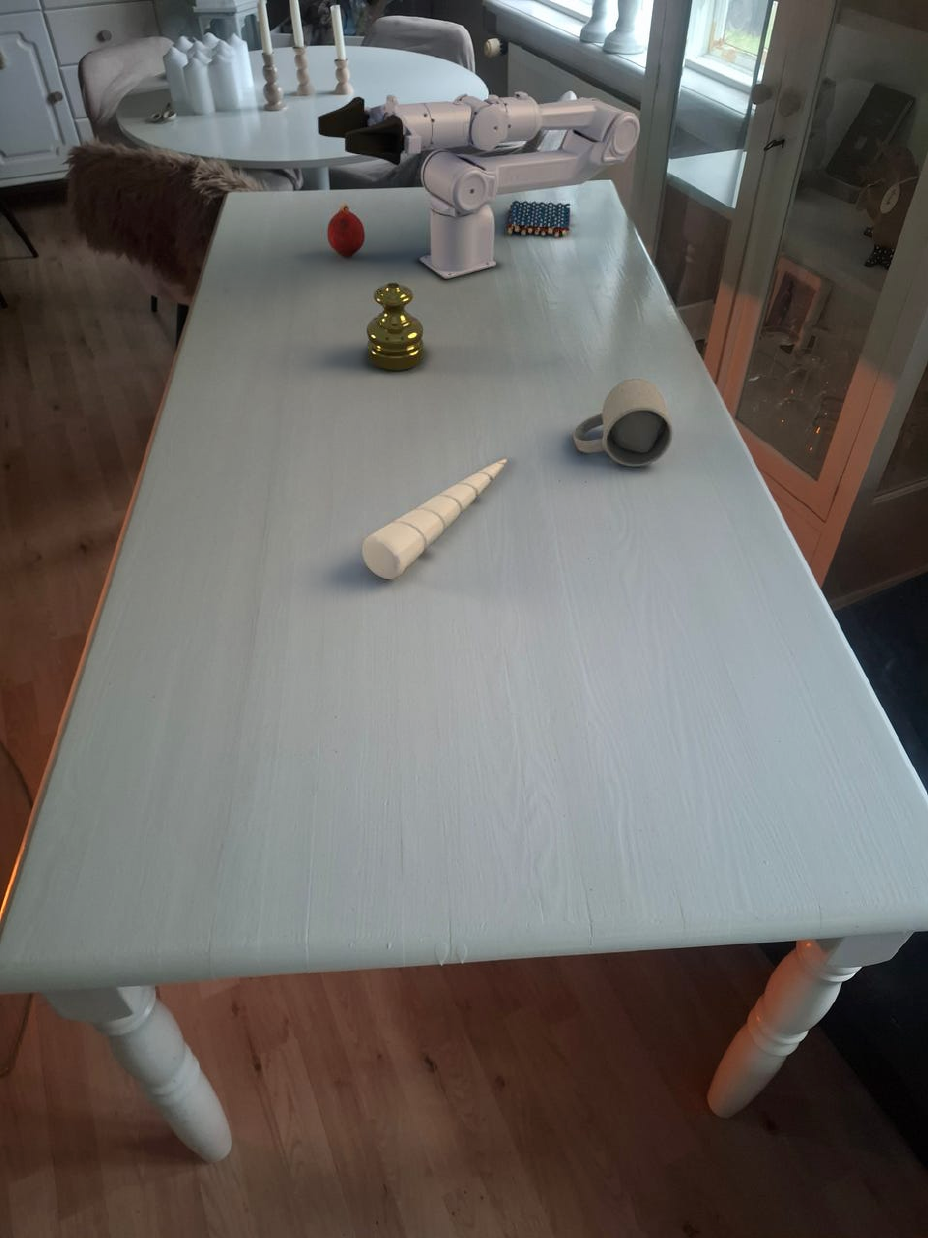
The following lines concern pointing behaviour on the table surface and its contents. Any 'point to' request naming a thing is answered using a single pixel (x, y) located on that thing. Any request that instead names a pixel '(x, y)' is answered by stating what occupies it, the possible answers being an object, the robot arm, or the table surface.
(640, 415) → the ceramic mug
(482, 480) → the unicorn horn
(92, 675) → the table surface
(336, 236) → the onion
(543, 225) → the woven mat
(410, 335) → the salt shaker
